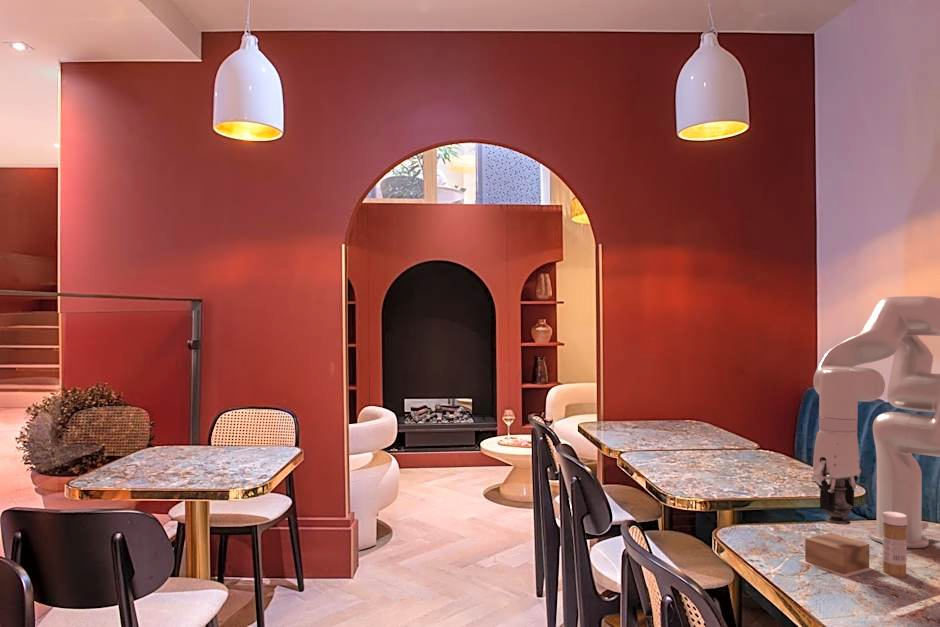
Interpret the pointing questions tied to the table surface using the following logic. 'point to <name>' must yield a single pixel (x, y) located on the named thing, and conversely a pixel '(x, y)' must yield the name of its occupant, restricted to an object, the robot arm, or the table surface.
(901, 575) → the sprinkles bottle
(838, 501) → the dark grey chess piece
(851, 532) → the table surface
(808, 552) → the walnut block
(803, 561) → the grey flat slab
